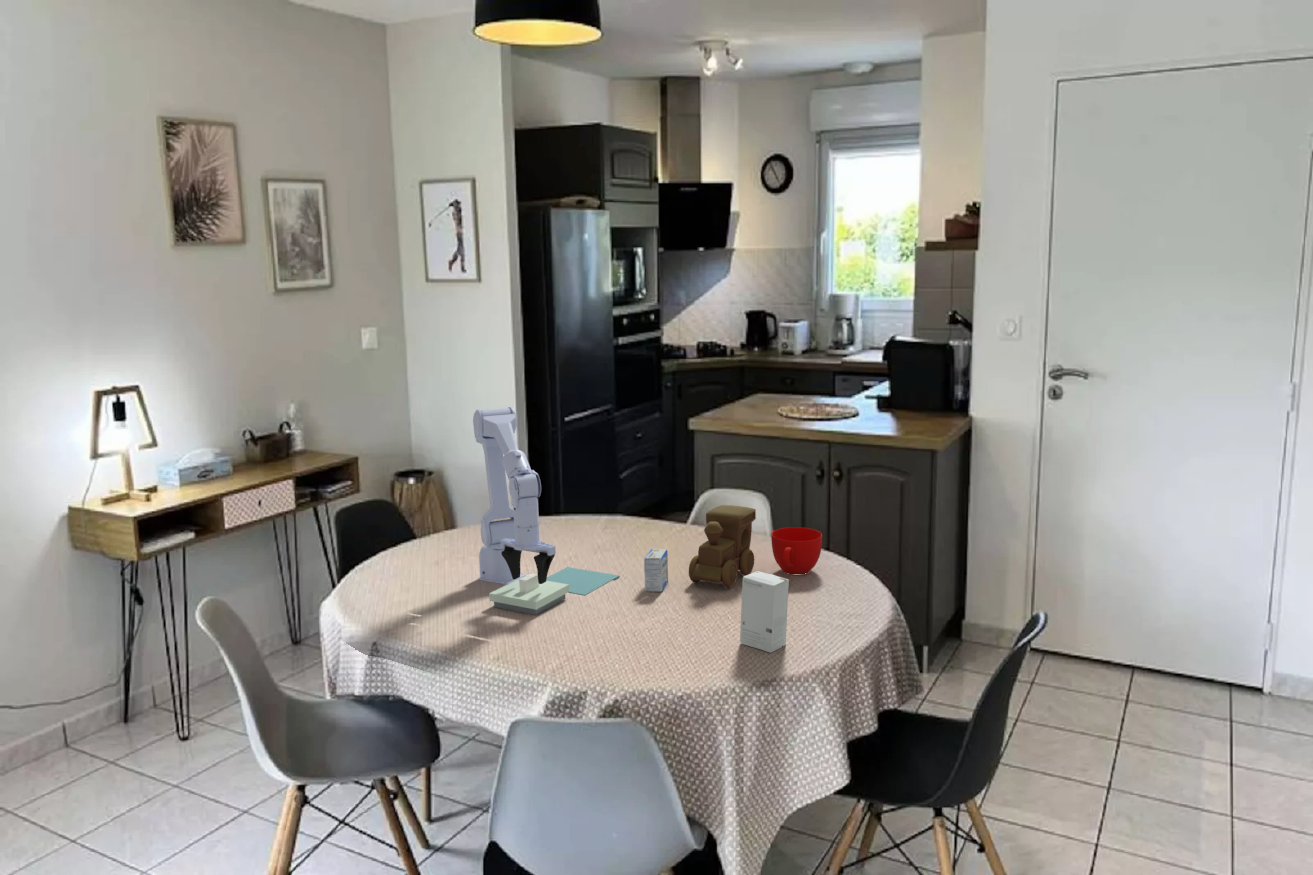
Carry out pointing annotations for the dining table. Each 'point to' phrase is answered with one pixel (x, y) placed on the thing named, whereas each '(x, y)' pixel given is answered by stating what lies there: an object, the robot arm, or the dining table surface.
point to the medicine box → (656, 570)
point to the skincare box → (764, 611)
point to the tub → (528, 610)
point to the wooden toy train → (725, 546)
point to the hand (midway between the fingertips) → (529, 580)
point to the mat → (581, 579)
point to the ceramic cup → (796, 549)
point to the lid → (529, 592)
